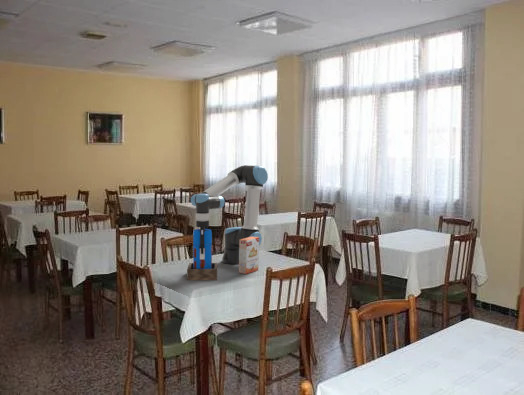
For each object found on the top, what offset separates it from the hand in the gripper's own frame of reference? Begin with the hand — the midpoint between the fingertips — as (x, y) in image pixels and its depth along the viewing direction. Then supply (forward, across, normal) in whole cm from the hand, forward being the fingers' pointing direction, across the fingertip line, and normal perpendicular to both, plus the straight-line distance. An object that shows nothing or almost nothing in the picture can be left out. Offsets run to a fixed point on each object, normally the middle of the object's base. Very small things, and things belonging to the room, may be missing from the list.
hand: (202, 257), depth 303 cm
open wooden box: (+11, 0, 0) cm, 11 cm away
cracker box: (+12, -10, +28) cm, 32 cm away
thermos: (+9, 0, 0) cm, 9 cm away
